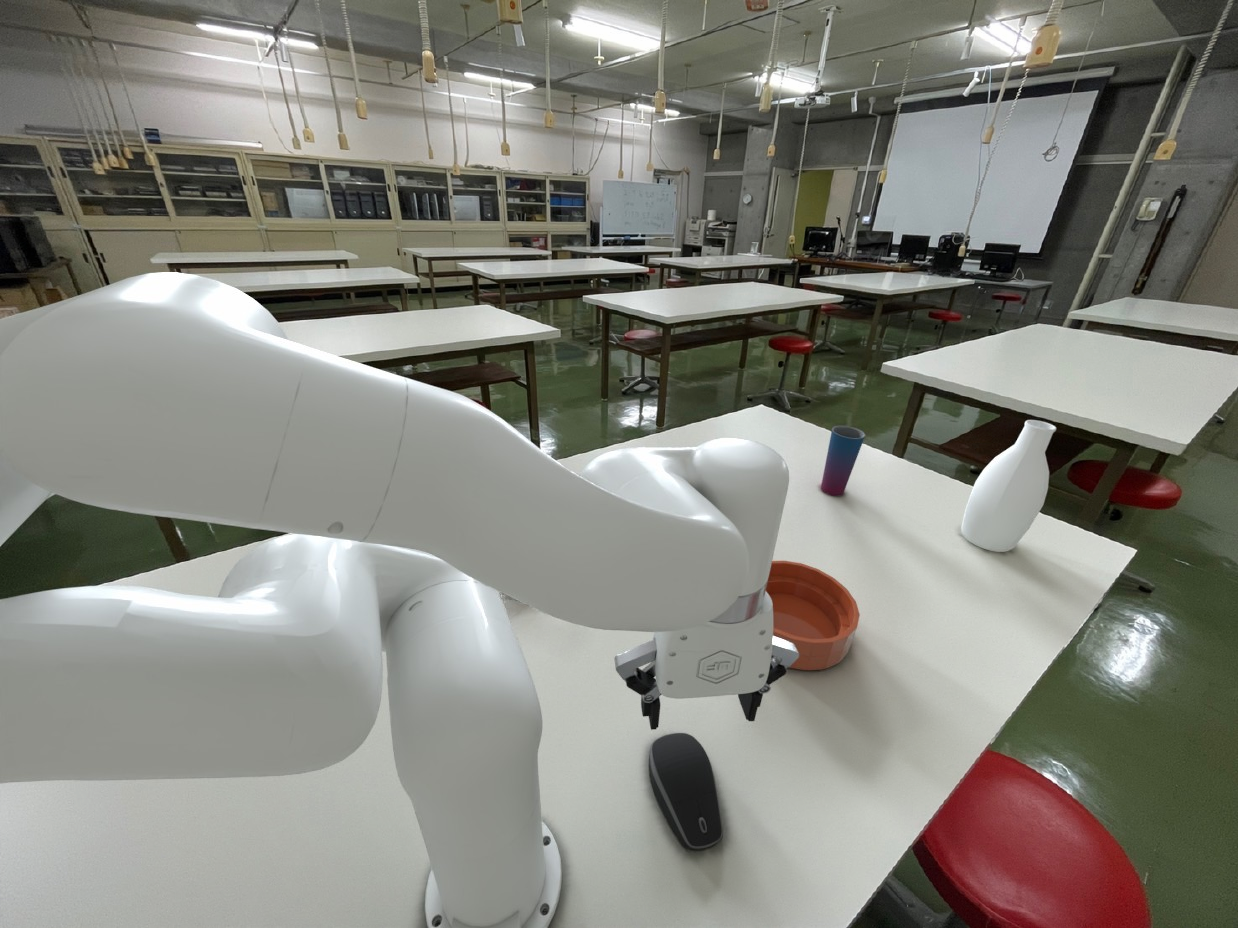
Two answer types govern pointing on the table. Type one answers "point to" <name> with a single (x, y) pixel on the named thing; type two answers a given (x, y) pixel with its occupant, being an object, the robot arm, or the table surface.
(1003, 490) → the bottle
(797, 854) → the table surface
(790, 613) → the bowl
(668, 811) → the computer mouse
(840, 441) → the cup
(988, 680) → the table surface
